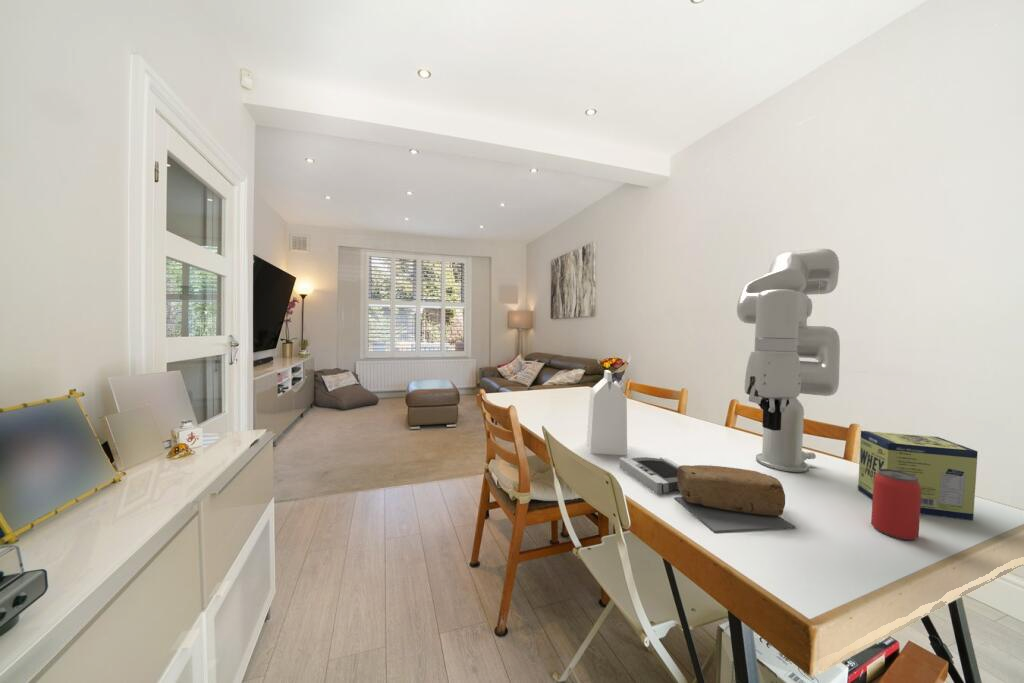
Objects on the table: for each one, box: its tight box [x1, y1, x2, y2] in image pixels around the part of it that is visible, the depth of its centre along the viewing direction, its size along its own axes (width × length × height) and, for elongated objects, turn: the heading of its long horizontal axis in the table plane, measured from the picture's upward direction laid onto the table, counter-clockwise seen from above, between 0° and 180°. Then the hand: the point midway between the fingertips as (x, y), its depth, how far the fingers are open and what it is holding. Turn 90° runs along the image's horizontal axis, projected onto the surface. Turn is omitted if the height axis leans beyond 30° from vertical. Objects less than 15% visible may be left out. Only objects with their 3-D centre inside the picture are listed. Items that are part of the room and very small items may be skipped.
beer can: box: [870, 469, 922, 541], centre depth 72 cm, size 7×7×12 cm
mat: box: [674, 496, 797, 533], centre depth 79 cm, size 18×14×1 cm
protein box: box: [857, 430, 979, 521], centre depth 84 cm, size 10×16×16 cm
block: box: [677, 464, 786, 517], centre depth 82 cm, size 11×8×20 cm
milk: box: [586, 369, 628, 456], centre depth 120 cm, size 12×12×26 cm
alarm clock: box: [619, 456, 681, 495], centre depth 97 cm, size 17×5×16 cm
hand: (771, 428), depth 79 cm, fingers closed
